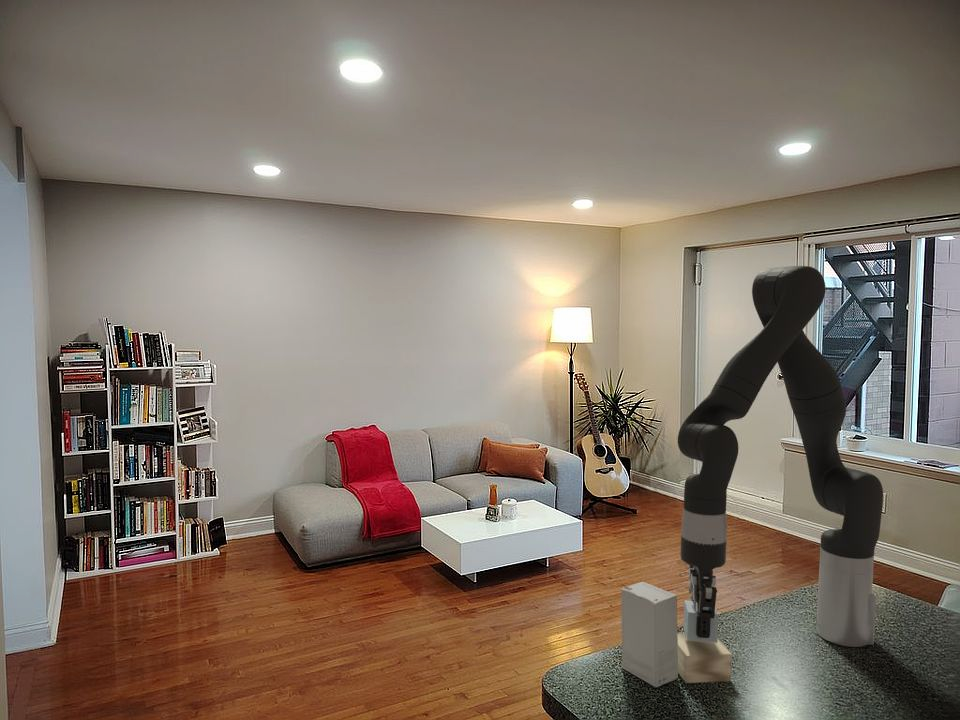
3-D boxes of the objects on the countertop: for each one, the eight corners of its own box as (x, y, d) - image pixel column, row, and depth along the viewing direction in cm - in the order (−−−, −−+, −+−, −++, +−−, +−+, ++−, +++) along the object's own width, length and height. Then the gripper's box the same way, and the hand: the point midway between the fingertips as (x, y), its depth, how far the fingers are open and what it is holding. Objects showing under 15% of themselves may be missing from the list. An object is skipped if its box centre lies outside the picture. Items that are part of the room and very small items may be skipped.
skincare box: (678, 679, 116) (681, 595, 115) (654, 690, 113) (657, 603, 112) (641, 658, 123) (644, 579, 122) (618, 667, 120) (620, 586, 119)
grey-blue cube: (712, 629, 121) (713, 602, 121) (717, 642, 116) (718, 614, 116) (683, 627, 122) (684, 600, 122) (687, 640, 117) (688, 612, 117)
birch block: (710, 658, 124) (711, 631, 124) (730, 682, 116) (731, 654, 116) (668, 660, 123) (669, 633, 123) (685, 684, 115) (686, 655, 115)
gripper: (735, 550, 110) (730, 651, 111) (718, 523, 124) (714, 613, 125) (687, 547, 111) (683, 647, 113) (676, 521, 125) (673, 610, 127)
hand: (700, 629), depth 119 cm, fingers closed on grey-blue cube, 4 cm apart
